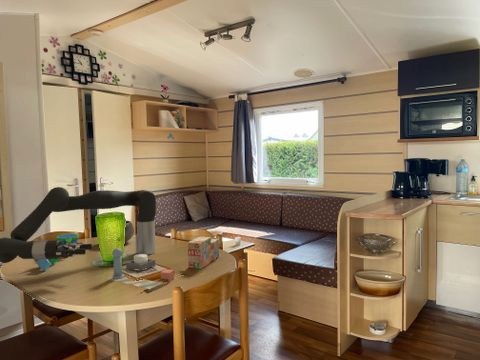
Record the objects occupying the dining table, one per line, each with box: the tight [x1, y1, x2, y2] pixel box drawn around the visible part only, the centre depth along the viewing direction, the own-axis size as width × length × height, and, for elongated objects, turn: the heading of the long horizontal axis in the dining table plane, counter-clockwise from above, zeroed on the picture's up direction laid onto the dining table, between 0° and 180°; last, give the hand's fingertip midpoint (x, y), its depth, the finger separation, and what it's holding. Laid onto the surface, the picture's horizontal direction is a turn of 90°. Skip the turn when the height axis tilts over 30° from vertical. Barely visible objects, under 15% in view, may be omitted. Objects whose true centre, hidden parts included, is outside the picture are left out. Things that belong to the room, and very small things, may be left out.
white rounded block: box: [133, 253, 149, 264], centre depth 169 cm, size 6×6×5 cm
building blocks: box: [33, 258, 60, 271], centre depth 174 cm, size 8×8×12 cm
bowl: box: [125, 220, 135, 243], centre depth 221 cm, size 18×18×13 cm
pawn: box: [111, 247, 125, 280], centre depth 155 cm, size 4×4×12 cm
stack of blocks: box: [187, 236, 220, 270], centre depth 181 cm, size 21×6×12 cm, turn 160°
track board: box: [107, 276, 164, 293], centre depth 151 cm, size 24×8×1 cm, turn 60°
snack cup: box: [55, 233, 80, 257], centre depth 195 cm, size 16×10×10 cm
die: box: [160, 268, 175, 283], centre depth 155 cm, size 4×4×4 cm
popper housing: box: [125, 258, 156, 270], centre depth 170 cm, size 9×9×4 cm
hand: (88, 249), depth 153 cm, fingers open, 8 cm apart
